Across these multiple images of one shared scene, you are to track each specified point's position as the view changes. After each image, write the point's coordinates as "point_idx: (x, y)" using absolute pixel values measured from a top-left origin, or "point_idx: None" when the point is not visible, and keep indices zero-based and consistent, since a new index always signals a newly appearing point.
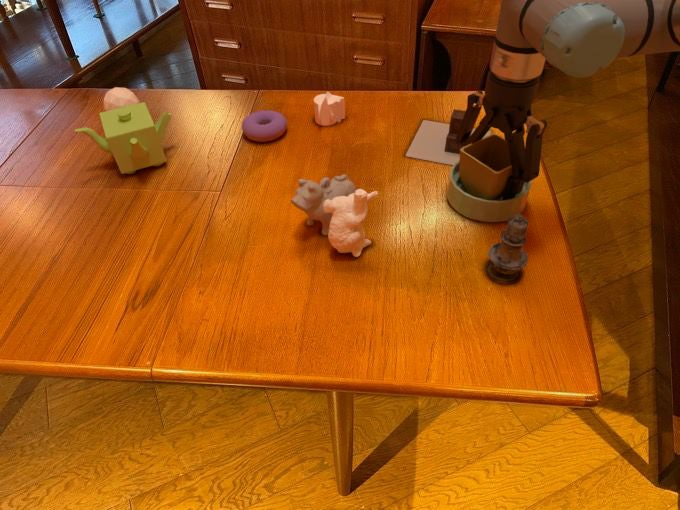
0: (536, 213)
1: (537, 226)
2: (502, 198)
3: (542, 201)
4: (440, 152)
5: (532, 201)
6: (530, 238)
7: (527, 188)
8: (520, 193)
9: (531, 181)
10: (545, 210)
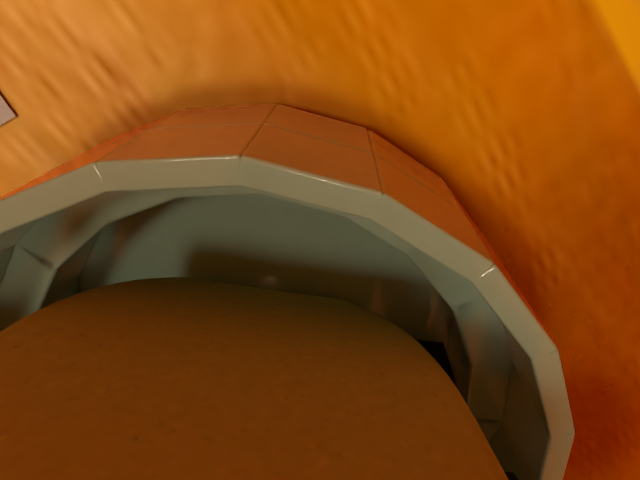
0: (571, 248)
1: (612, 333)
2: (347, 298)
3: (567, 114)
4: None
5: (504, 163)
6: (606, 415)
7: (551, 429)
8: (463, 325)
9: (546, 339)
10: (615, 187)
